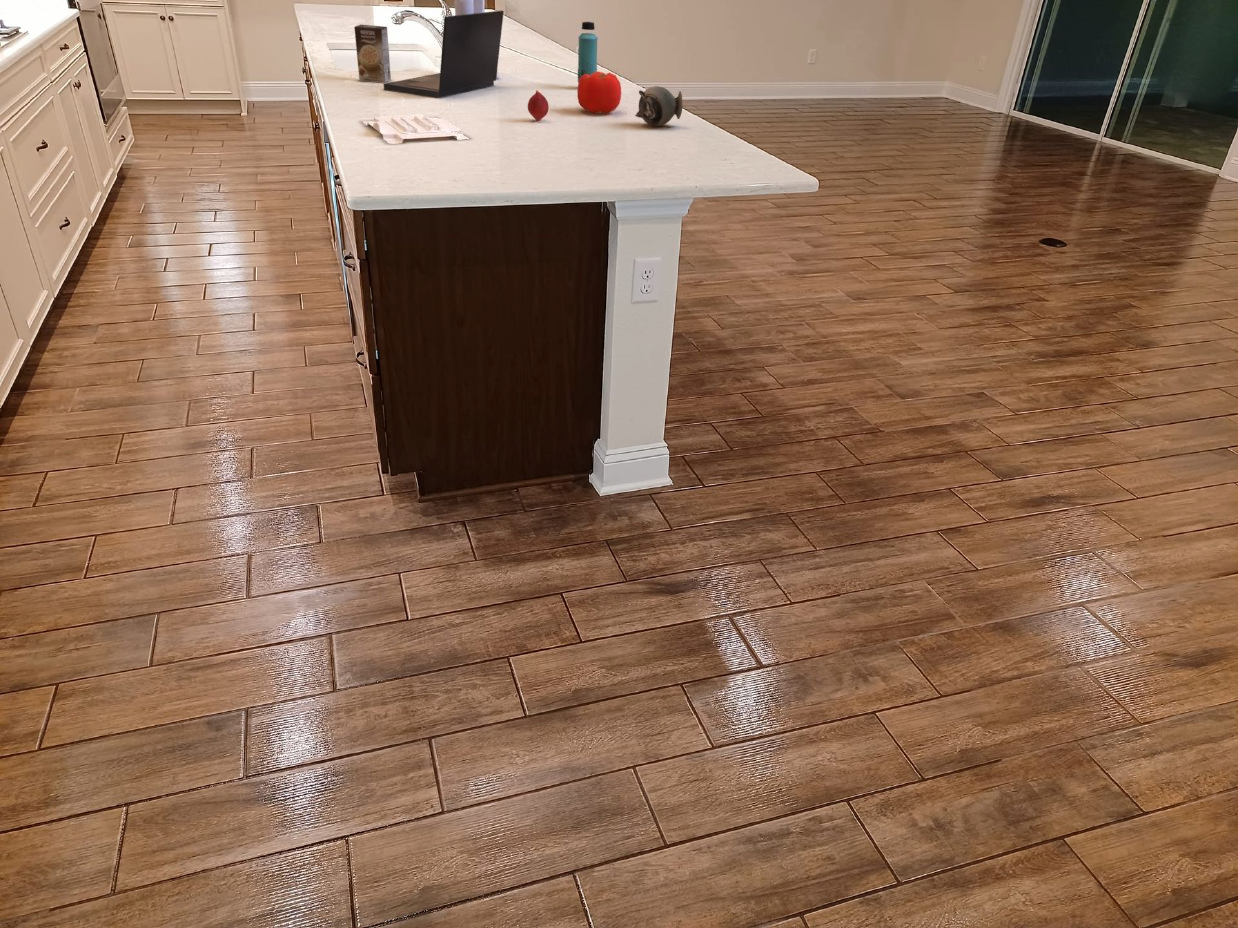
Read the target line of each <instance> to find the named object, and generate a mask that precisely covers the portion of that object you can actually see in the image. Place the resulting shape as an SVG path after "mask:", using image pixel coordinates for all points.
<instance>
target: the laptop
mask: <svg viewBox="0 0 1238 928" xmlns="http://www.w3.org/2000/svg"><path fill="white" fill-rule="evenodd" d="M439 83H440V72H437V73H432V74H428V75H427V74H426V75H422V76H417V77H411V78H407V79H400V80H396V81H389V82H386V83H383V90H384V91H390V92H396V93H403V94H408V95H409V94H410V95H416V96H422V97H423V96H424V97H429V98H437V99H441V98H445V97H450V96H453V95H458V94H463V93H467V92H473V91H476V90H481V89H485V88H489V87H494V86H495V81H491V82H487V83H482V84H478V85H473V86H468V87H464V88H459V89H455V90H450V91H446V92H439Z"/></svg>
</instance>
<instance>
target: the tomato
mask: <svg viewBox="0 0 1238 928" xmlns="http://www.w3.org/2000/svg"><path fill="white" fill-rule="evenodd" d="M577 83H578V82H577ZM576 92H577V101H578V104H579V106H580V107H581V108H582V109H584V110H585V111H587V112H588V113H591V114H599V113H601V114H610V113H612V112H613V111H615V110H616V109H617V108H618V107H619V106H620V103H621V100H622V86H621V82H620V80H619V79H618V77H617V75H616V74H613V73H611V72H608V73H604V72H602V71H597V72H594V73H592V74H590V76H589V75H588V74H584V75H582V76H581V78H580V80H579V83H578V84H577V91H576Z"/></svg>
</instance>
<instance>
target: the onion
mask: <svg viewBox="0 0 1238 928" xmlns="http://www.w3.org/2000/svg"><path fill="white" fill-rule="evenodd" d="M549 109H550V107H549V101H548V100H547V98H546V97H545V95H543V94H542V93H541V92H540V91H539V89H535V93H534V94H532V95H531V97H529V100H528V102H527V111H528V113H529V114H530V116H532V118H534V120H535V121H537V122H539V121H541V120H543V118H545V117H546V116H547V115H548V113H549Z"/></svg>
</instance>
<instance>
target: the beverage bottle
mask: <svg viewBox="0 0 1238 928" xmlns="http://www.w3.org/2000/svg"><path fill="white" fill-rule="evenodd" d="M595 29H596V28H595V22H593V21H582V22H581V30H585V31H594V30H595ZM577 38H578V48H577V57H578V59H577V83H579V80H580V78H581V76H582V75H584V74H588V75H589V76H590V74H592V73H594V72H598V37H597V35H596V34H595V33H591V32H583V33H581V34H579V35H578V37H577Z"/></svg>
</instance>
